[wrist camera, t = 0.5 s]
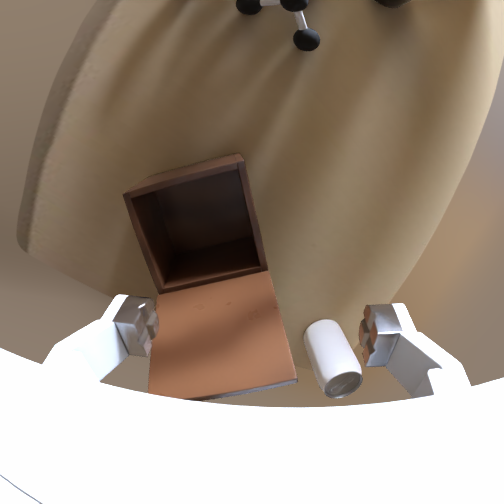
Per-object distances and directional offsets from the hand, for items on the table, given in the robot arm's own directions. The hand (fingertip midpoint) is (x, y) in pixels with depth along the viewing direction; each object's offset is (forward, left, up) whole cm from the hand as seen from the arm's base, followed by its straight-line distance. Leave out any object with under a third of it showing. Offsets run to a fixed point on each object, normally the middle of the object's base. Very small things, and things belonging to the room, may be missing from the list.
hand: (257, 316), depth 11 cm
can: (-1, -28, -28) cm, 39 cm away
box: (-5, -1, -28) cm, 28 cm away
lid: (-7, -7, -11) cm, 15 cm away
